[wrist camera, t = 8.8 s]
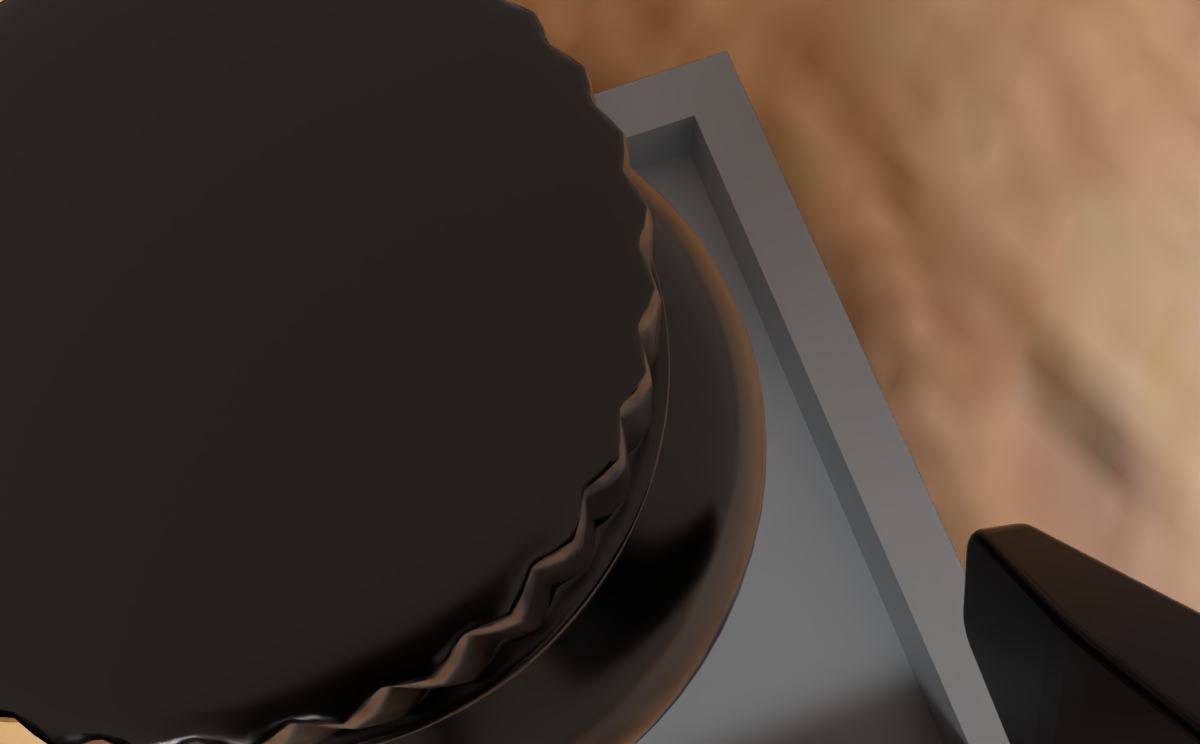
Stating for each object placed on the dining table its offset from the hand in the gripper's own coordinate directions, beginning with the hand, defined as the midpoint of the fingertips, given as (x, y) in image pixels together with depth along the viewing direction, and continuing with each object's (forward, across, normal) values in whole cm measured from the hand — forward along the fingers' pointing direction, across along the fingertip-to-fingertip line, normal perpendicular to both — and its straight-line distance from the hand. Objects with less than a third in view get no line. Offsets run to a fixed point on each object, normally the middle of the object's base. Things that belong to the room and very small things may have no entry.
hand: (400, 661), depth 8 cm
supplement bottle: (+8, 0, +5) cm, 9 cm away
